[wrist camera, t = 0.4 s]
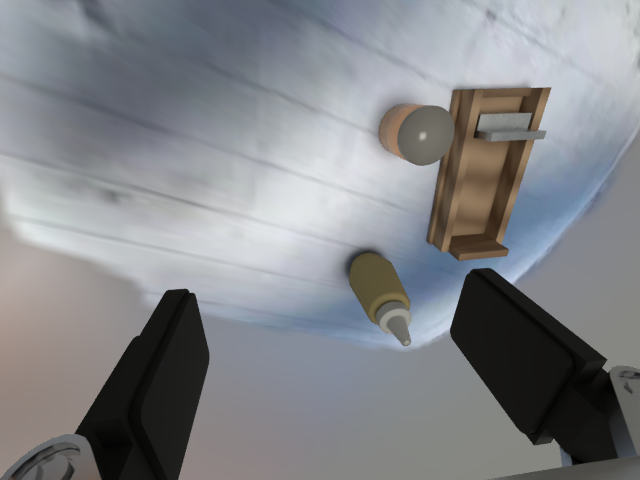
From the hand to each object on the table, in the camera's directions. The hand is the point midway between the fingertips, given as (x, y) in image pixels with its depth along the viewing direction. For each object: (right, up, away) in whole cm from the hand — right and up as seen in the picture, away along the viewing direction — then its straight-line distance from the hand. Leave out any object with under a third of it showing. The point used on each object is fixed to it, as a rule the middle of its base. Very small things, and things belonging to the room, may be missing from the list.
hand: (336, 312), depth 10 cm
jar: (+11, +19, +31) cm, 38 cm away
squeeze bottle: (+8, -2, +41) cm, 42 cm away
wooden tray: (+24, +14, +35) cm, 45 cm away
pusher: (+24, +19, +31) cm, 44 cm away
